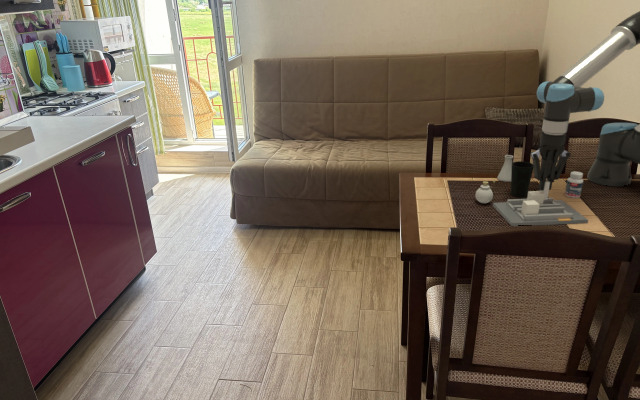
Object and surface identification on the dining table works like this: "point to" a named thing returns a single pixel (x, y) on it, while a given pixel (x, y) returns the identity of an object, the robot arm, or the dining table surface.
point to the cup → (520, 178)
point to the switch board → (539, 213)
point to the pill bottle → (574, 185)
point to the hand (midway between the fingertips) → (543, 198)
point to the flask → (506, 169)
